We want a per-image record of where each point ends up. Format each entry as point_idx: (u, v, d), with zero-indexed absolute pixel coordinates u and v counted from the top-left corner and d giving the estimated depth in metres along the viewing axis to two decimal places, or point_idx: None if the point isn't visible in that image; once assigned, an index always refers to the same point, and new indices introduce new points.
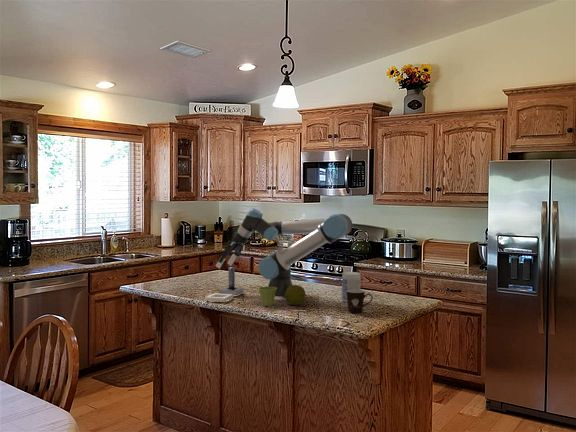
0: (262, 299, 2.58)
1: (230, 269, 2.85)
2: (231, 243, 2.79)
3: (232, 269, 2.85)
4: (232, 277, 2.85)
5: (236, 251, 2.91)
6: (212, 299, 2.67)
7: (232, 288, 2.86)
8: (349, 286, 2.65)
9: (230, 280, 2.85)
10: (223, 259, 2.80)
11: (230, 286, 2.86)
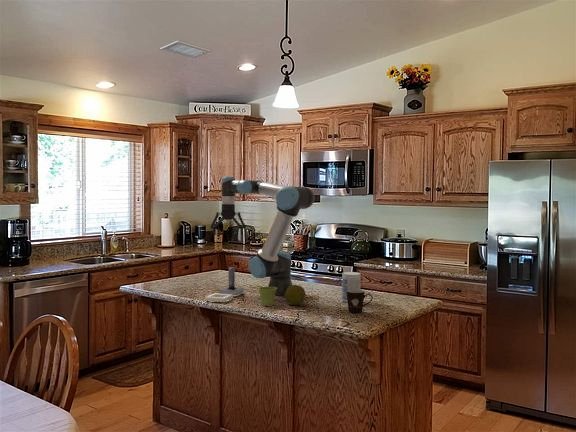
0: (262, 299, 2.58)
1: (230, 269, 2.85)
2: (216, 213, 2.98)
3: (232, 269, 2.85)
4: (232, 277, 2.85)
5: None
6: (212, 299, 2.67)
7: (232, 288, 2.86)
8: (349, 286, 2.65)
9: (230, 280, 2.85)
10: (215, 230, 2.97)
11: (230, 286, 2.86)
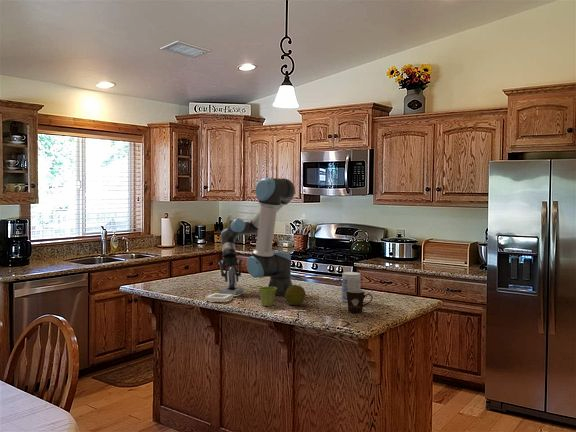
0: (262, 299, 2.58)
1: (230, 269, 2.85)
2: (218, 263, 2.93)
3: (232, 269, 2.85)
4: (232, 277, 2.85)
5: None
6: (212, 299, 2.67)
7: (232, 288, 2.86)
8: (349, 286, 2.65)
9: (230, 280, 2.85)
10: (227, 276, 2.86)
11: (230, 286, 2.86)
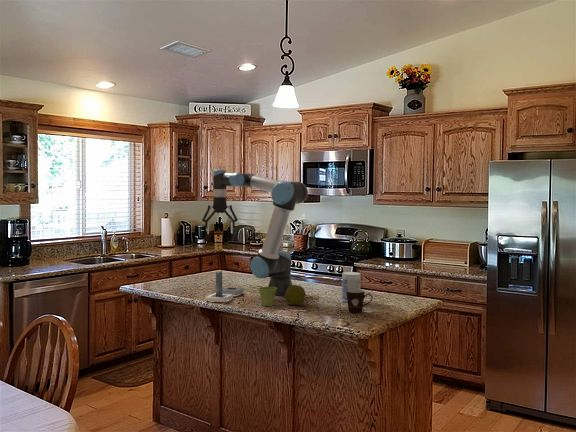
0: (262, 299, 2.58)
1: (217, 273, 2.70)
2: None
3: (219, 273, 2.70)
4: (219, 282, 2.70)
5: None
6: (212, 299, 2.67)
7: (219, 293, 2.71)
8: (349, 286, 2.65)
9: (217, 285, 2.70)
10: (207, 224, 2.98)
11: (217, 291, 2.70)
